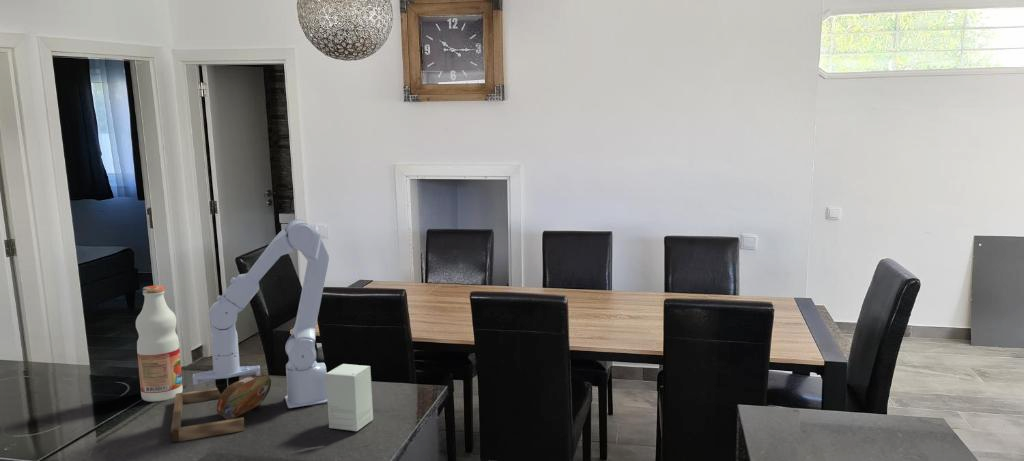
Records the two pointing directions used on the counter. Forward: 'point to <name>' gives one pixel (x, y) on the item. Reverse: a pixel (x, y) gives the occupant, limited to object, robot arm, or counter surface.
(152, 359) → the fruit juice
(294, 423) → the counter surface
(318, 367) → the robot arm
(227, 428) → the wooden u-shaped frame
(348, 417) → the supplement box
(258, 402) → the tin
